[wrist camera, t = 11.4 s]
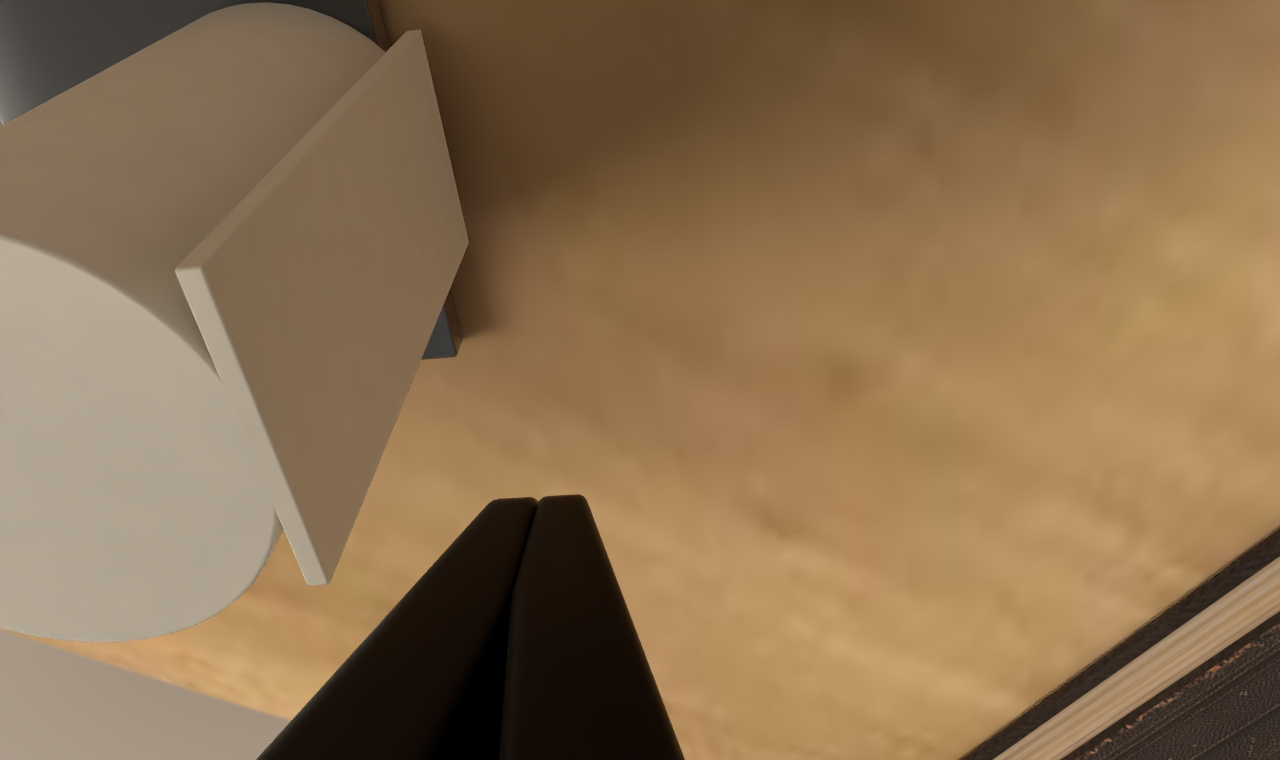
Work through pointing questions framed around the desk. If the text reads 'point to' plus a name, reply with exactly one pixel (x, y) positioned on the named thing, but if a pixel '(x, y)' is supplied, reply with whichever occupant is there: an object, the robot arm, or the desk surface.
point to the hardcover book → (1174, 683)
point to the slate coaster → (123, 25)
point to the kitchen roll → (210, 314)
